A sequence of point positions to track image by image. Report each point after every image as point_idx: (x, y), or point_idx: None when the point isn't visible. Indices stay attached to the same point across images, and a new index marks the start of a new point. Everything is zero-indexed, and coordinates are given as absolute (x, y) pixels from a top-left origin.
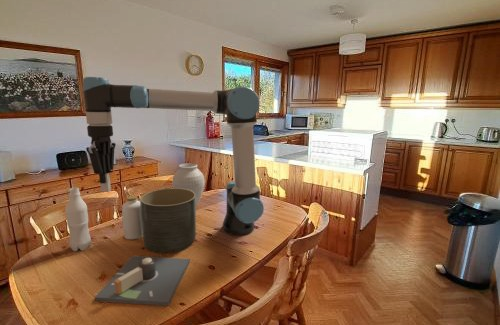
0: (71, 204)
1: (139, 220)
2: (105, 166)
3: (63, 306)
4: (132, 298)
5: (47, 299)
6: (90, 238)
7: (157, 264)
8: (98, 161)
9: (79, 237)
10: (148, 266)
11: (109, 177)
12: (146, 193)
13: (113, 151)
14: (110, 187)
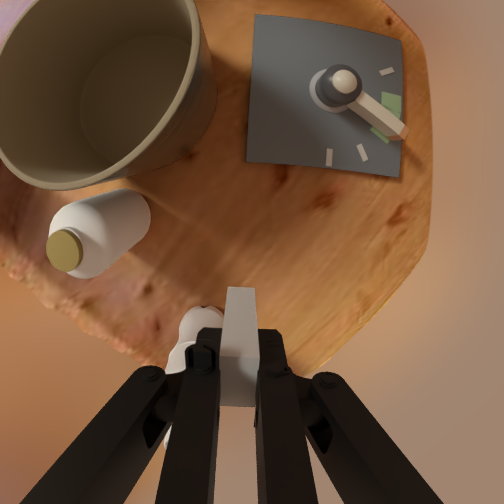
0: None
1: (114, 198)
2: (267, 414)
3: (404, 227)
4: (400, 102)
5: (386, 267)
6: (192, 312)
7: (285, 81)
8: (399, 464)
9: None
10: (358, 75)
11: (225, 334)
12: (44, 183)
13: (44, 502)
14: (229, 295)
